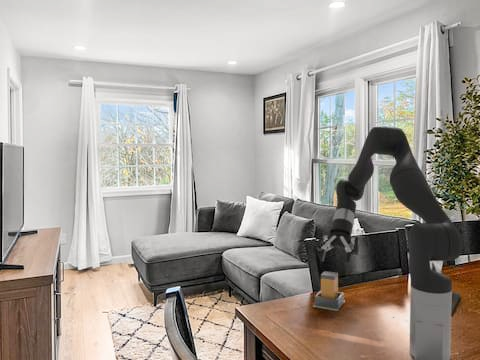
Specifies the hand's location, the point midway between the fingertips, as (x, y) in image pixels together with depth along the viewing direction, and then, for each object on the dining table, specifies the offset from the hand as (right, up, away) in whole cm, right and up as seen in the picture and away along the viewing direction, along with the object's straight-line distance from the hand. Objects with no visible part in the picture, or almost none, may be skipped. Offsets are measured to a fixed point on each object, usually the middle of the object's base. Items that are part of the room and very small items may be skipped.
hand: (334, 262), depth 137 cm
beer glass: (+41, -13, +15) cm, 45 cm away
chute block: (-3, -13, -5) cm, 14 cm away
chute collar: (-3, -13, -5) cm, 14 cm away
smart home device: (+36, -14, -2) cm, 39 cm away
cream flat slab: (-3, -14, -5) cm, 15 cm away
